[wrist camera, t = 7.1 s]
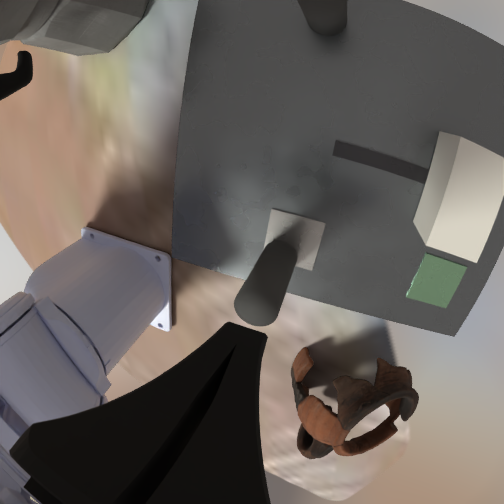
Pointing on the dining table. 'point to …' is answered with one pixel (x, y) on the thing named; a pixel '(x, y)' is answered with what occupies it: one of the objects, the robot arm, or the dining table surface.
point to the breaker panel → (333, 151)
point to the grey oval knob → (266, 285)
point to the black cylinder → (325, 15)
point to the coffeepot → (63, 30)
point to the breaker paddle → (460, 197)
